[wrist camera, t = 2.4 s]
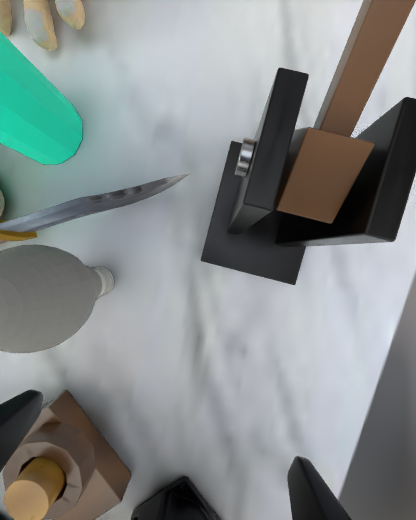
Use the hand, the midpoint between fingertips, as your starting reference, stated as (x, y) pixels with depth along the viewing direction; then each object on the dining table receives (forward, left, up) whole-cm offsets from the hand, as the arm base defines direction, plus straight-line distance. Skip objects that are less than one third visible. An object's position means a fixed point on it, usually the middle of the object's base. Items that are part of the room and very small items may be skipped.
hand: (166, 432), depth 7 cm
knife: (+14, +4, -12) cm, 19 cm away
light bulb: (+8, +5, -12) cm, 15 cm away
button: (-2, +16, -8) cm, 18 cm away
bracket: (+4, -10, -12) cm, 16 cm away
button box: (-3, +17, -12) cm, 21 cm away
